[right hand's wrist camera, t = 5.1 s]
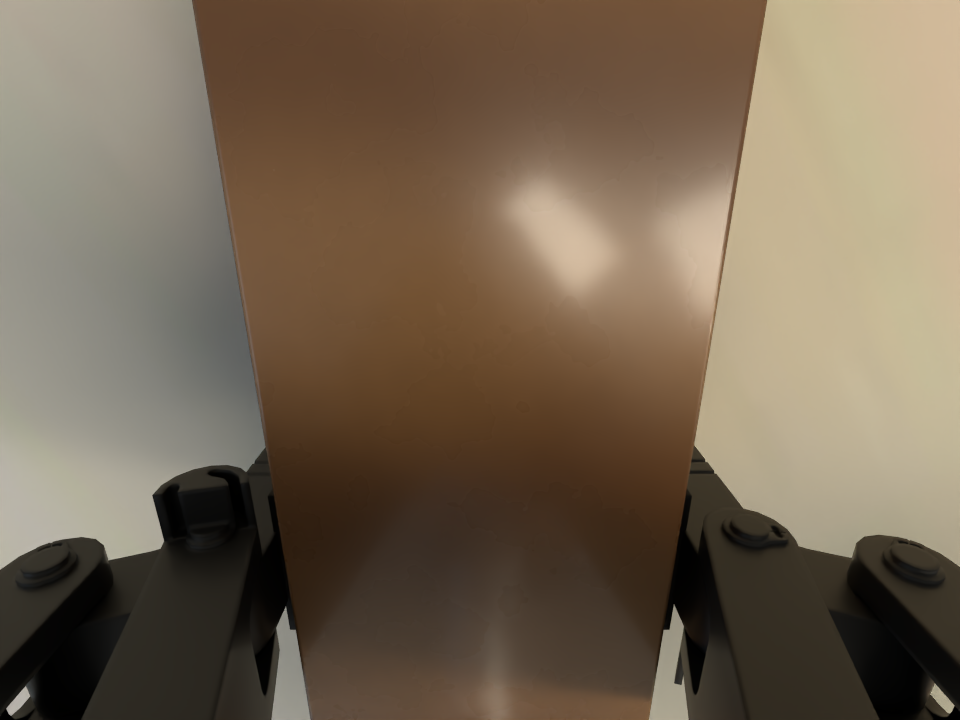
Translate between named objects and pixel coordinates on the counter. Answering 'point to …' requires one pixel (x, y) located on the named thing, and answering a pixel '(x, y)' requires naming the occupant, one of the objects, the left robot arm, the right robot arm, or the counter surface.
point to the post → (479, 328)
